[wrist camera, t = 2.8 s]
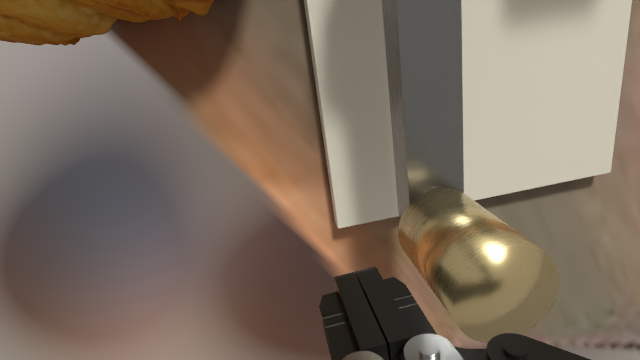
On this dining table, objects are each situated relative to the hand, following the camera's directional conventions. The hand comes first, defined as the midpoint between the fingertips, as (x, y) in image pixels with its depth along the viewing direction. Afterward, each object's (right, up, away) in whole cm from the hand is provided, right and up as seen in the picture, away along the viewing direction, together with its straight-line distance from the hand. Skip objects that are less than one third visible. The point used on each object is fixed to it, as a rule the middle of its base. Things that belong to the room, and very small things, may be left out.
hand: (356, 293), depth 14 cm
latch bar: (+3, +9, +3) cm, 9 cm away
